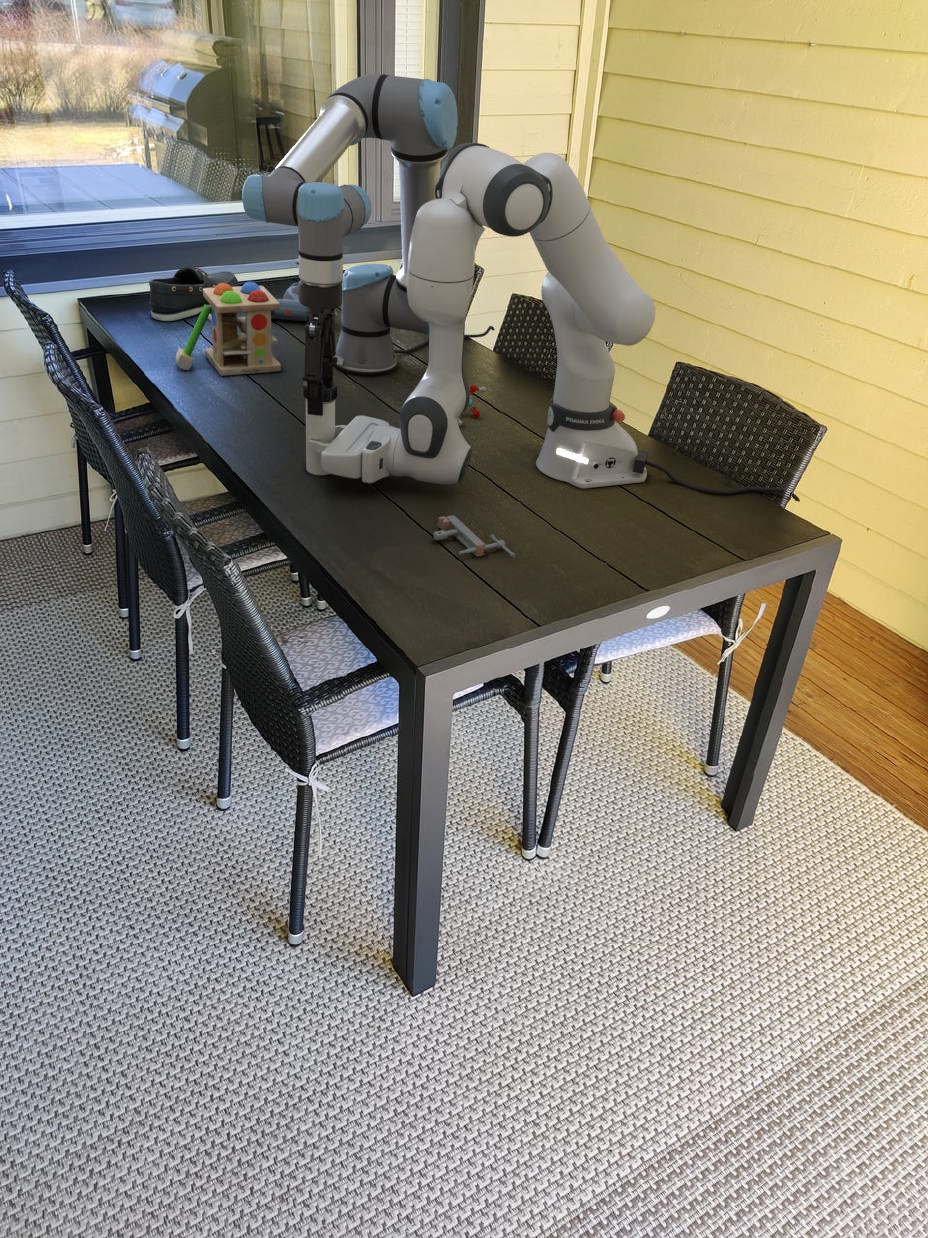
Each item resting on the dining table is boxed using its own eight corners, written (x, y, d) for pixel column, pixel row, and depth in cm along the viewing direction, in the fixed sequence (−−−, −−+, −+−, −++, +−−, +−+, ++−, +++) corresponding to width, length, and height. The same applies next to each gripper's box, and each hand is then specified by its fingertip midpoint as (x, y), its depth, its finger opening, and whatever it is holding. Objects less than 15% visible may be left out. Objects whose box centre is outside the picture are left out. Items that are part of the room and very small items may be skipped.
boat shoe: (257, 300, 274) (255, 261, 268) (168, 323, 250) (164, 281, 244) (224, 291, 279) (221, 254, 274) (133, 313, 256) (128, 272, 250)
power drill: (344, 304, 276) (335, 327, 259) (277, 298, 275) (264, 321, 258) (344, 285, 273) (335, 306, 256) (277, 279, 272) (264, 300, 255)
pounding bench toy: (183, 379, 220) (176, 299, 210) (169, 357, 231) (162, 280, 221) (282, 371, 230) (280, 294, 220) (264, 350, 240) (262, 276, 230)
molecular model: (479, 418, 207) (464, 372, 206) (439, 432, 211) (424, 387, 209) (495, 415, 218) (481, 371, 216) (457, 429, 221) (443, 386, 220)
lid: (304, 389, 183) (303, 376, 182) (337, 390, 184) (337, 378, 183) (302, 401, 178) (302, 389, 177) (337, 403, 179) (337, 390, 178)
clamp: (423, 519, 171) (472, 509, 176) (423, 530, 173) (471, 520, 177) (466, 561, 161) (517, 549, 165) (465, 572, 162) (516, 561, 167)
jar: (340, 469, 190) (341, 387, 181) (321, 477, 187) (321, 395, 177) (319, 460, 193) (319, 379, 183) (300, 468, 189) (299, 386, 180)
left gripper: (312, 263, 178) (313, 383, 191) (284, 295, 161) (286, 424, 174) (353, 267, 178) (351, 387, 191) (329, 300, 161) (328, 429, 174)
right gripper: (402, 414, 191) (335, 402, 193) (368, 455, 174) (295, 441, 176) (401, 444, 194) (335, 431, 196) (367, 487, 177) (295, 473, 180)
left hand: (320, 405), depth 182 cm, fingers open, 8 cm apart
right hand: (315, 436), depth 186 cm, fingers closed on jar, 5 cm apart
